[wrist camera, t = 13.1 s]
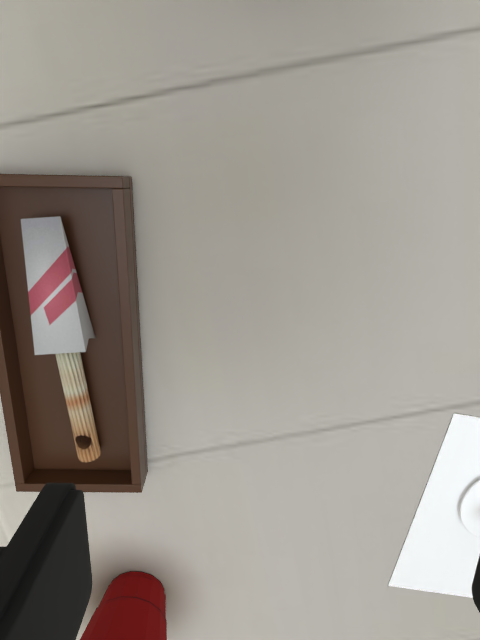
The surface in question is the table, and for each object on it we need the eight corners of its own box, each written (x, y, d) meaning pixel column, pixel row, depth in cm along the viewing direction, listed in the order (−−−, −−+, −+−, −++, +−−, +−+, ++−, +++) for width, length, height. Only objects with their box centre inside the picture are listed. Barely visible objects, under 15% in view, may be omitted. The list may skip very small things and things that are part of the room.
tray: (-14, 173, 32) (-37, 173, 29) (131, 176, 32) (122, 176, 30) (30, 470, 40) (16, 491, 37) (147, 471, 40) (141, 492, 37)
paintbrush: (60, 218, 29) (106, 465, 36) (74, 213, 32) (115, 444, 39) (2, 221, 29) (60, 467, 36) (21, 216, 32) (71, 447, 39)
